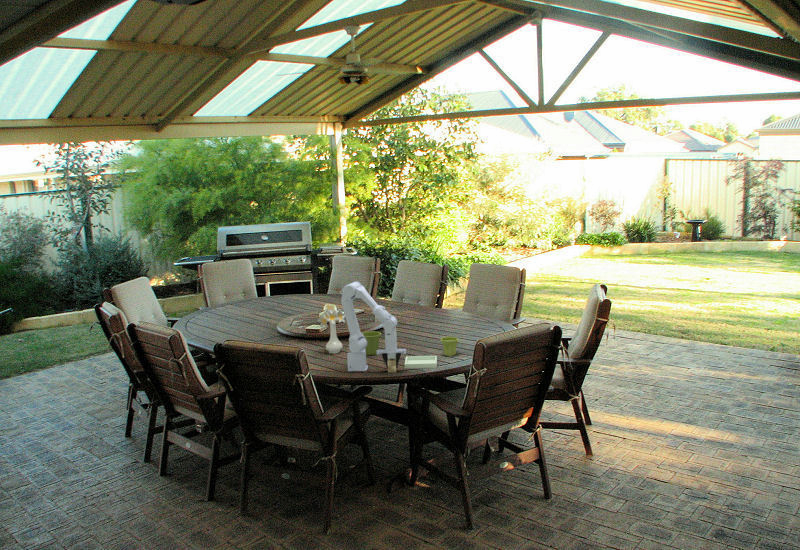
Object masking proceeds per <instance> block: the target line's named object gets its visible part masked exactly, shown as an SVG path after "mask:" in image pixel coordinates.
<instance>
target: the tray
mask: <svg viewBox="0 0 800 550" xmlns="http://www.w3.org/2000/svg"><path fill="white" fill-rule="evenodd" d="M437 357H438V356H437V355H415V356H414V355H411V356H410V355H409V356H405V359H404V370H418V369H419V370H422V369H424V370H427V369H437V368H438V358H437Z"/></svg>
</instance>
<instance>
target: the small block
mask: <svg viewBox="0 0 800 550" xmlns="http://www.w3.org/2000/svg"><path fill="white" fill-rule="evenodd" d="M397 369H398V368H397ZM397 369H396V358H388V369H387V373H388V374H389V373H397V372H398V371H397Z"/></svg>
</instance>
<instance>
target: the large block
mask: <svg viewBox="0 0 800 550" xmlns="http://www.w3.org/2000/svg"><path fill="white" fill-rule="evenodd" d="M388 358H396V354H388Z"/></svg>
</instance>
